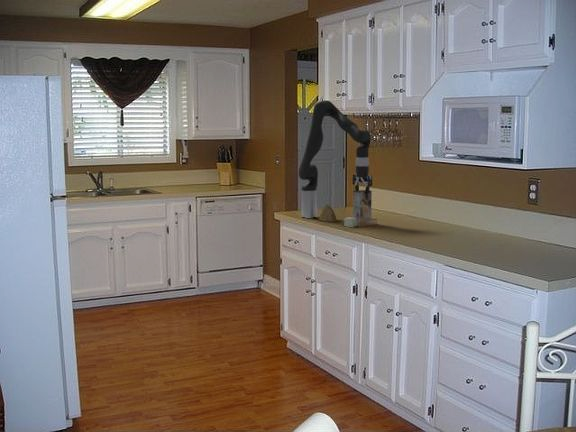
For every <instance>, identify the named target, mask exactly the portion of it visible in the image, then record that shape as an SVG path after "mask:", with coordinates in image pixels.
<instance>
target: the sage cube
mask: <svg viewBox="0 0 576 432" xmlns="http://www.w3.org/2000/svg"><path fill="white" fill-rule="evenodd" d="M343 220H344V221H343V222H344V225H343V226H346V227H345V228H351V227H352V228H355V227H354V226H356V227H358V226H357V218H353V216H352V217H350V216H349V217H345V218H344V219H343Z"/></svg>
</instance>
